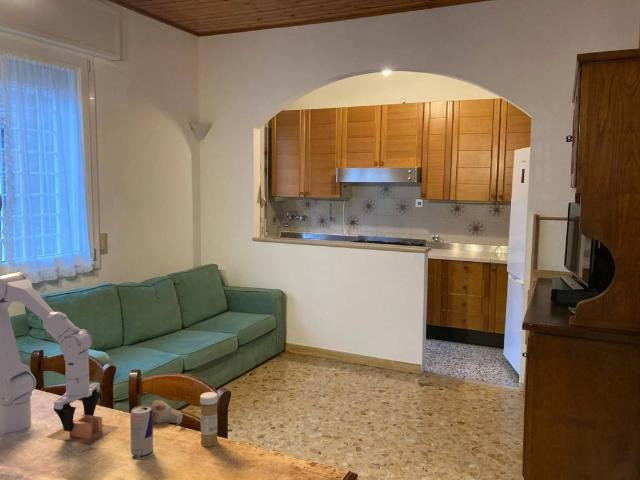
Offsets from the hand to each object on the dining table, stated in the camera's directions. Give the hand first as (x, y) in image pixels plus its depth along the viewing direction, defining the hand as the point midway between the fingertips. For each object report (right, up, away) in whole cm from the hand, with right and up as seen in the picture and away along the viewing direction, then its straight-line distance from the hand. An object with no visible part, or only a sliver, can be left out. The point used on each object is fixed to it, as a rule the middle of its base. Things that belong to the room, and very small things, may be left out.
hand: (78, 424), depth 139 cm
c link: (+2, -2, -1) cm, 3 cm away
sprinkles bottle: (+36, -4, -2) cm, 36 cm away
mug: (+21, -3, +9) cm, 23 cm away
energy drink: (+21, -5, -9) cm, 23 cm away
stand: (+1, -3, 0) cm, 4 cm away
